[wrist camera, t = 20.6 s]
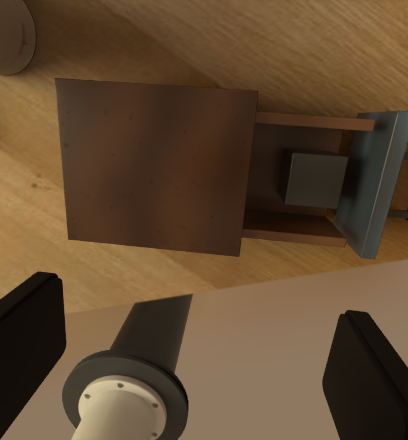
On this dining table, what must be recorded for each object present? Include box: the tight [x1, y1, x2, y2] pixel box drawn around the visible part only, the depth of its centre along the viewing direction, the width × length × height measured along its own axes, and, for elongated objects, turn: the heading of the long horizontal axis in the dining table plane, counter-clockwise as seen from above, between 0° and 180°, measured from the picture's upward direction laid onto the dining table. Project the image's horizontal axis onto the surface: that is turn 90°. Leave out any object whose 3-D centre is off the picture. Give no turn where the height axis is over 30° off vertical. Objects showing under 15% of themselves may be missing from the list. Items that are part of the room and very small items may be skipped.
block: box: [278, 148, 348, 209], centre depth 27 cm, size 4×4×4 cm
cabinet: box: [55, 78, 258, 257], centre depth 27 cm, size 15×13×9 cm
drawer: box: [242, 111, 408, 259], centre depth 27 cm, size 18×11×7 cm, turn 86°
